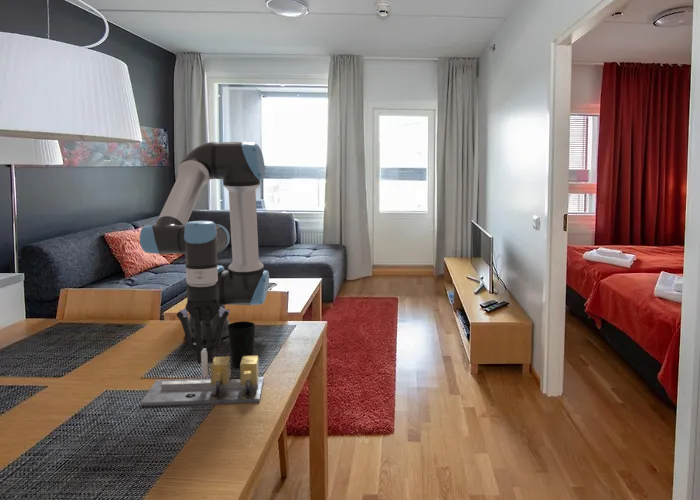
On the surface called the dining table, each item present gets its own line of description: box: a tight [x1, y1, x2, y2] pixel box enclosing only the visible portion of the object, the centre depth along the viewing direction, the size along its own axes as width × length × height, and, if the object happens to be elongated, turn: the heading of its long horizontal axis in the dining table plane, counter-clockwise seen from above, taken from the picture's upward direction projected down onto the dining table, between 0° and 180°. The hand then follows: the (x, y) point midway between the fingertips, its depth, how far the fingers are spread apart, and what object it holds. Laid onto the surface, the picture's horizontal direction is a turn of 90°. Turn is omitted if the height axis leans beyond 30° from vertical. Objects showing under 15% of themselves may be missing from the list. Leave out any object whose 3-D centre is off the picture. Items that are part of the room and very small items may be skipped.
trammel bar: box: [161, 355, 260, 395], centre depth 137 cm, size 10×24×7 cm, turn 95°
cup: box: [228, 320, 256, 370], centre depth 157 cm, size 8×8×12 cm
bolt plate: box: [140, 376, 265, 407], centre depth 138 cm, size 14×28×1 cm, turn 95°
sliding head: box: [210, 355, 232, 394], centre depth 137 cm, size 10×4×7 cm, turn 5°
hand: (205, 374), depth 138 cm, fingers closed
